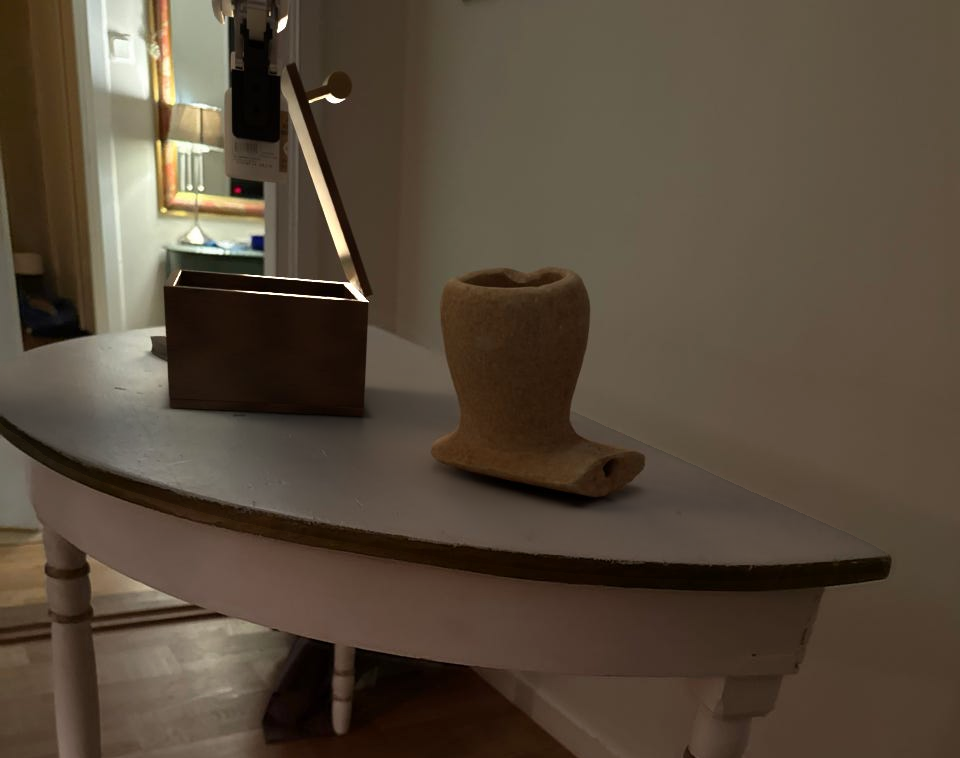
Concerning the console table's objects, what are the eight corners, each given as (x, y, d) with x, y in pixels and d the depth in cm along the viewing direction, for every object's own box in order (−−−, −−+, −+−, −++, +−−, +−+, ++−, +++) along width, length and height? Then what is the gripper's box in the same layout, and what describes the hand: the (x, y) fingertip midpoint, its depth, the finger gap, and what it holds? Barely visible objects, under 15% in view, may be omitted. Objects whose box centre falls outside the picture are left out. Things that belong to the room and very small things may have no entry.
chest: (169, 407, 77) (163, 285, 73) (177, 375, 89) (172, 268, 85) (363, 416, 82) (368, 301, 77) (347, 384, 93) (351, 283, 89)
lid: (285, 65, 68) (347, 44, 69) (277, 79, 80) (331, 61, 80) (364, 297, 77) (419, 278, 77) (347, 279, 89) (395, 262, 89)
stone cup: (394, 473, 67) (407, 253, 60) (475, 446, 76) (494, 253, 70) (580, 524, 61) (618, 285, 54) (644, 487, 70) (682, 280, 63)
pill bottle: (297, 186, 66) (299, 60, 62) (238, 179, 63) (237, 48, 60) (272, 182, 69) (274, 62, 65) (216, 175, 66) (214, 51, 63)
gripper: (200, -161, 63) (206, 136, 71) (185, -258, 49) (194, 130, 57) (309, -139, 65) (303, 149, 73) (326, -226, 50) (316, 146, 58)
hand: (255, 137), depth 65 cm, fingers closed on pill bottle, 4 cm apart
